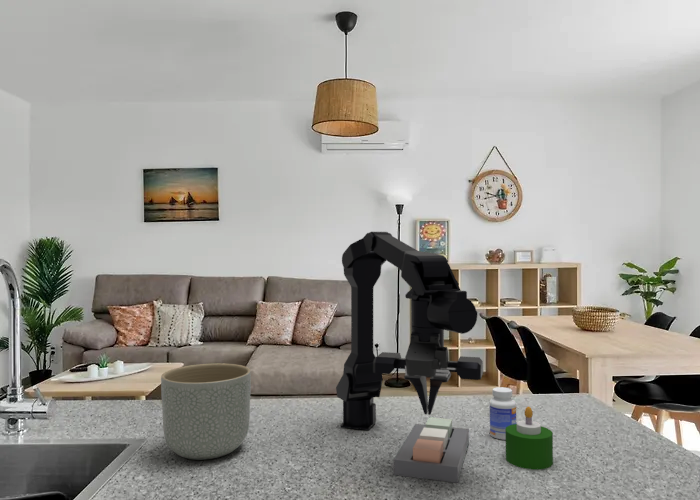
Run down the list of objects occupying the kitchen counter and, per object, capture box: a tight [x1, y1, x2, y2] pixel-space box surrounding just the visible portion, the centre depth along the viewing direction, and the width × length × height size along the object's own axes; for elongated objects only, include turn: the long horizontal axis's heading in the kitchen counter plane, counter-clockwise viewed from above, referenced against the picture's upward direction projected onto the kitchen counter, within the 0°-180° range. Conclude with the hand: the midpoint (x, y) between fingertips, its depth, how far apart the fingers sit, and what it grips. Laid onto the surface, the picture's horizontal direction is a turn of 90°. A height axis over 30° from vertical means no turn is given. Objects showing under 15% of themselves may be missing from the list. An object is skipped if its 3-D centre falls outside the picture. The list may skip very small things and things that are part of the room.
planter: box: [160, 362, 252, 461], centre depth 105 cm, size 17×17×15 cm
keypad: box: [392, 423, 470, 484], centre depth 101 cm, size 11×20×3 cm, turn 162°
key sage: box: [425, 417, 453, 438], centre depth 107 cm, size 5×5×2 cm
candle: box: [505, 406, 554, 471], centre depth 99 cm, size 8×8×10 cm
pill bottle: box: [488, 386, 517, 441], centre depth 112 cm, size 5×5×10 cm
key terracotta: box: [413, 439, 443, 463], centre depth 95 cm, size 5×5×2 cm
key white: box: [420, 427, 448, 450], centre depth 101 cm, size 5×5×2 cm
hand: (427, 413), depth 95 cm, fingers closed
